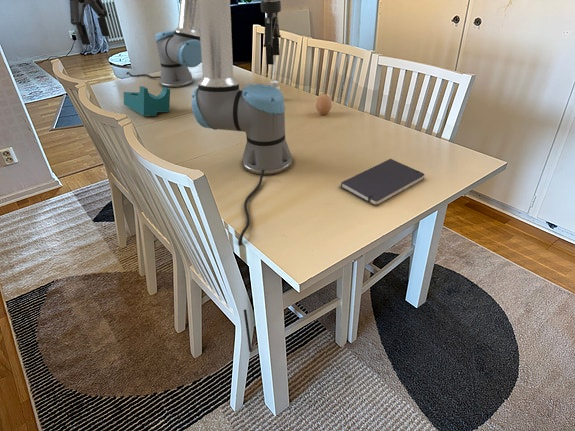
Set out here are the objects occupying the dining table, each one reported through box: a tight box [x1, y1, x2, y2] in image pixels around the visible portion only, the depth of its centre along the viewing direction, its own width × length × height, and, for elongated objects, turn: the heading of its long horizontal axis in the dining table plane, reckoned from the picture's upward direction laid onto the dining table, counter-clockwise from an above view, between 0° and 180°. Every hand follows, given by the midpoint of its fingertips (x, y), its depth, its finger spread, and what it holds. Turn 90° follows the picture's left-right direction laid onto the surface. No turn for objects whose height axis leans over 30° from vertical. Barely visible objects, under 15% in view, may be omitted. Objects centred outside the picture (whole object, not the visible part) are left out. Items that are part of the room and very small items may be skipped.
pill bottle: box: [269, 80, 281, 91], centre depth 169 cm, size 4×4×8 cm
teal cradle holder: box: [123, 85, 171, 117], centre depth 163 cm, size 18×11×10 cm, turn 43°
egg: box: [315, 93, 333, 116], centre depth 155 cm, size 6×6×8 cm
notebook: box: [340, 158, 425, 206], centre depth 114 cm, size 13×2×21 cm
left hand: (96, 40), depth 151 cm, fingers open, 13 cm apart
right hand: (273, 59), depth 162 cm, fingers open, 13 cm apart
